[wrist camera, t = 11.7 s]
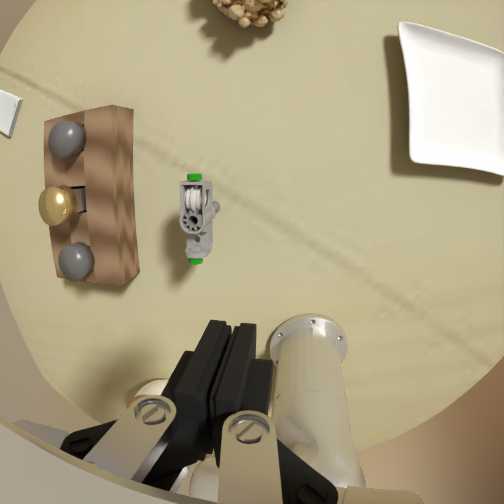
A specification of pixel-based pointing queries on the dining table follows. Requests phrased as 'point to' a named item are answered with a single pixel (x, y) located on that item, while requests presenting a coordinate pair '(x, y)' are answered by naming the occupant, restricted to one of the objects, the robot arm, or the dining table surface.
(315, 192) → the dining table surface
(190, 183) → the mechanical component
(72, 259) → the knob
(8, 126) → the hard drive
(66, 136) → the knob
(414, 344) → the dining table surface
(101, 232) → the knob panel
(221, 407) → the robot arm
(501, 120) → the salad plate
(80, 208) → the knob middle
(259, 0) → the mineral formation
